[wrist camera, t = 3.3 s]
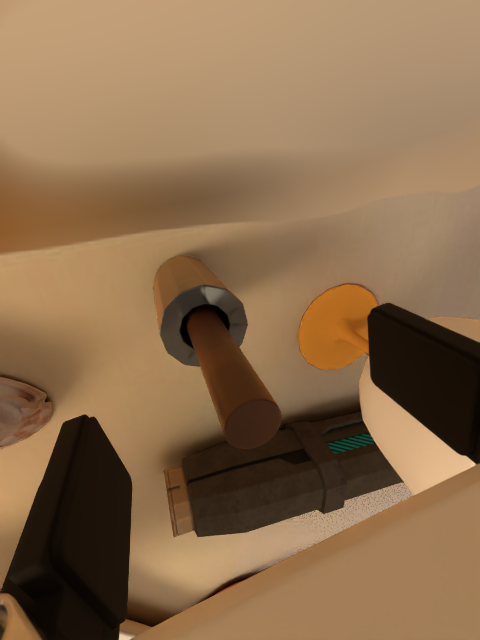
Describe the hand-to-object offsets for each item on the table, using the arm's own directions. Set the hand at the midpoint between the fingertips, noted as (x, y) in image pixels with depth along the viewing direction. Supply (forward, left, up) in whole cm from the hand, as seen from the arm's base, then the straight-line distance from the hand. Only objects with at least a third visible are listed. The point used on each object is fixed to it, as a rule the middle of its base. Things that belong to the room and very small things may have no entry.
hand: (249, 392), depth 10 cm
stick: (0, 0, -15) cm, 15 cm away
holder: (0, 0, -15) cm, 15 cm away
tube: (+7, -20, -16) cm, 26 cm away
